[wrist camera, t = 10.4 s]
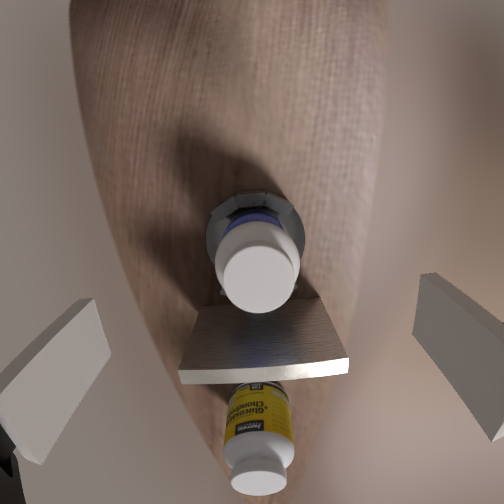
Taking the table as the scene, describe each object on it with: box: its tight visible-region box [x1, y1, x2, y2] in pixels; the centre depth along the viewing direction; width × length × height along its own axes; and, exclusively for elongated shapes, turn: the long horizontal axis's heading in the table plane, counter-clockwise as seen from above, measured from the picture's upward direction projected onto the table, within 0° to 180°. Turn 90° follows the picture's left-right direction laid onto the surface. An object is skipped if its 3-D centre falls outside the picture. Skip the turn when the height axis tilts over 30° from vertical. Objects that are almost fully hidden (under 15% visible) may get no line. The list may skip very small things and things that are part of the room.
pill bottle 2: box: [223, 381, 294, 496], centre depth 26 cm, size 6×6×12 cm
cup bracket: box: [178, 189, 349, 384], centre depth 22 cm, size 11×11×10 cm
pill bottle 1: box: [215, 209, 300, 313], centre depth 21 cm, size 5×5×10 cm
